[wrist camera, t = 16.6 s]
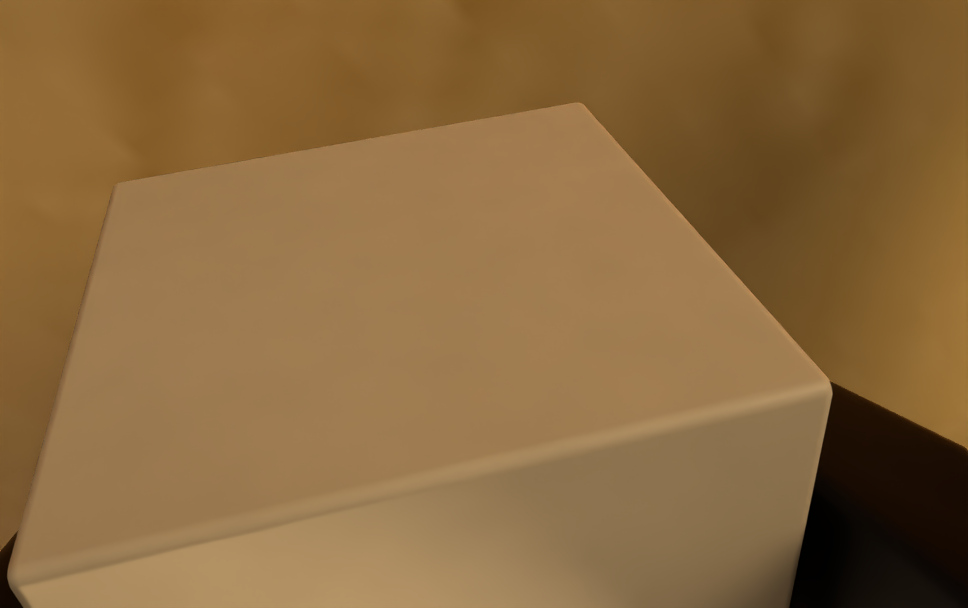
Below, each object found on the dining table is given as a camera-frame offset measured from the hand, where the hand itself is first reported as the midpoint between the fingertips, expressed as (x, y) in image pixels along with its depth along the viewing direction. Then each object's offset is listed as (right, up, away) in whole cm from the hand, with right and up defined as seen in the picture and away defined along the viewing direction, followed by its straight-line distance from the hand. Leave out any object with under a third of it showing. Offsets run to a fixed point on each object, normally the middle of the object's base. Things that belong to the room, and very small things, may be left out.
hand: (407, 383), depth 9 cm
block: (0, +1, +1) cm, 1 cm away
